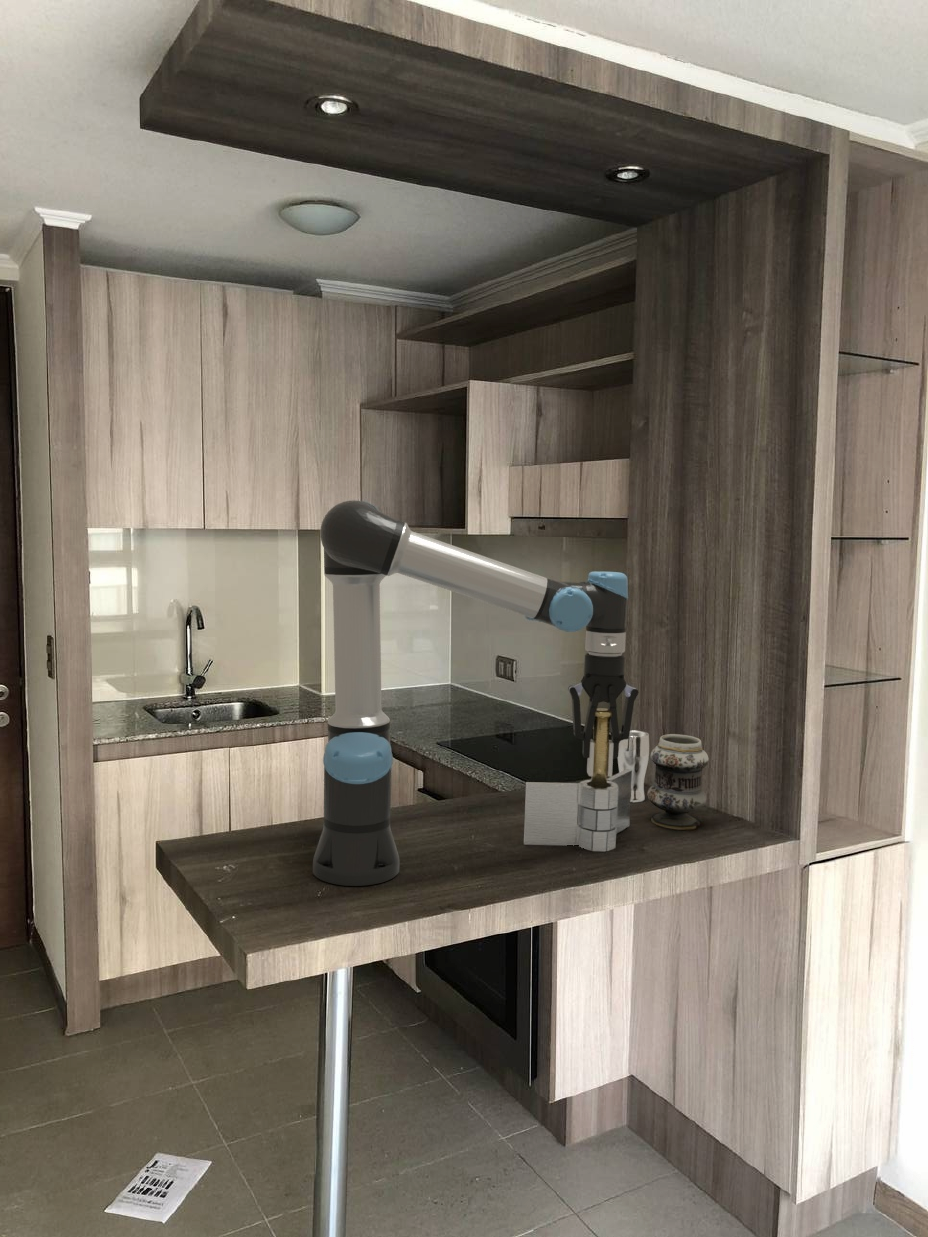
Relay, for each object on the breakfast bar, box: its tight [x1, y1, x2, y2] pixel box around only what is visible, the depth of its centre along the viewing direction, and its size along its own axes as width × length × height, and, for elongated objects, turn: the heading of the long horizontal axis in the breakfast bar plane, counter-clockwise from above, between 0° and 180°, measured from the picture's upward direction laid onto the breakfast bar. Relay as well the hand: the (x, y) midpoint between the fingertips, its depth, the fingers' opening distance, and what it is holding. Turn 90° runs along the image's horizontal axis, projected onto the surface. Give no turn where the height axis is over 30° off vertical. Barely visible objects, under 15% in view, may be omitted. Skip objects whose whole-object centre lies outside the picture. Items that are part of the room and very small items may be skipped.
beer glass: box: [617, 729, 650, 803], centre depth 221 cm, size 7×7×15 cm
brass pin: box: [590, 707, 612, 788], centre depth 188 cm, size 4×4×15 cm
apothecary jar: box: [646, 733, 709, 831], centre depth 204 cm, size 12×12×18 cm
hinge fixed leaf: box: [523, 778, 618, 852], centre depth 189 cm, size 18×7×12 cm, turn 91°
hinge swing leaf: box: [577, 769, 632, 835], centre depth 193 cm, size 18×7×12 cm, turn 146°
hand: (599, 774), depth 188 cm, fingers closed on brass pin, 3 cm apart
